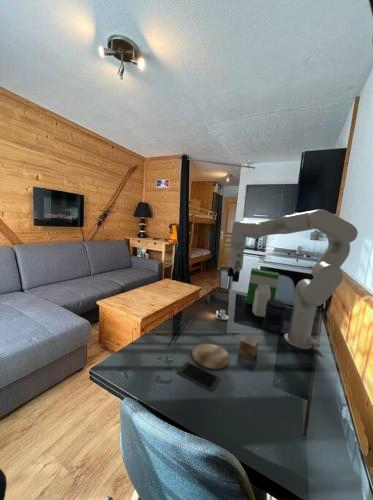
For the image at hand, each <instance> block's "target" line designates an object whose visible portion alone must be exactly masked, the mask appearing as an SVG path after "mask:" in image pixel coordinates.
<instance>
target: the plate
mask: <svg viewBox="0 0 373 500" xmlns="http://www.w3.org/2000/svg"><path fill="white" fill-rule="evenodd" d="M191 353H192V354H191V355H192V358H193V360H194V361H195V362H196V363H197V364H199V365H200V366H202V367H204V368H207V369H211V370H221V369H224V368H225V367H227V366H228V365H229V364H230V359H231V358H230V354H229V353H228V352H227V350H225V349H224V348H222V347H221V346H218V345H216V344H213V343H199V344H197V345H195V346H194V347H193V348H192V351H191Z"/></svg>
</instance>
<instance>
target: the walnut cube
mask: <svg viewBox="0 0 373 500" xmlns="http://www.w3.org/2000/svg"><path fill="white" fill-rule="evenodd" d="M259 342H260V341H259V339H256V338H254V337H251V336H248V335H246V334H245V335H244V336H243V337H242V338H241V339H240V341H239V346H238V347H239V348H238V353H239V354H238V355H240V354H242V355H244V356H243V357H245V356H247V357H249V358H251V359H253V360H254V358H255V357H256V355H257V354H256V353H258V347H259ZM255 354H256V355H255ZM242 355H241V356H242ZM254 356H255V357H254ZM247 357H246V358H247ZM249 358H248V359H249ZM251 359H250V360H251Z"/></svg>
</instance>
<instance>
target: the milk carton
mask: <svg viewBox="0 0 373 500" xmlns="http://www.w3.org/2000/svg"><path fill="white" fill-rule="evenodd" d="M270 296H271V291H270V286H268V285H260V284H258V287H257V288H256V291H255V297H254V303H253V305H252V309H251V311H252V314H254V316H256V317H263V318H264V317H265V314H266V305H267V300H270Z"/></svg>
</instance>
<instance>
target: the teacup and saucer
mask: <svg viewBox="0 0 373 500" xmlns="http://www.w3.org/2000/svg"><path fill="white" fill-rule="evenodd" d="M218 315H219V317H218ZM214 316H215V318H216V319H219V320H222V321H228V320H229V319H230V317H229V316H228V315H227V314H226V310H225V309H220V310H219V313H215V315H214Z"/></svg>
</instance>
